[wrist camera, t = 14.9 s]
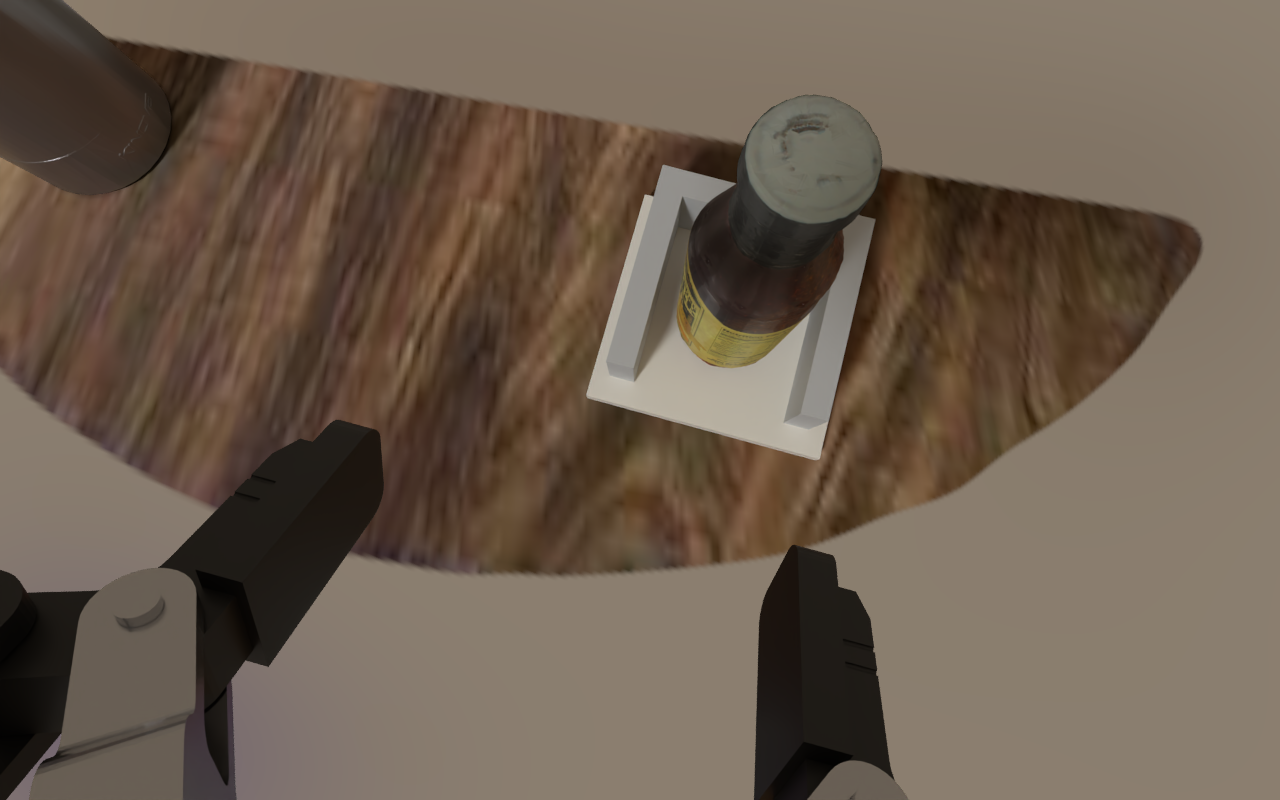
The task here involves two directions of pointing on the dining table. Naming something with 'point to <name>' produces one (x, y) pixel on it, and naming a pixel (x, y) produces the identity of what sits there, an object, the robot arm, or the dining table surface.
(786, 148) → the sauce bottle
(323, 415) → the dining table surface
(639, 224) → the white open tray
